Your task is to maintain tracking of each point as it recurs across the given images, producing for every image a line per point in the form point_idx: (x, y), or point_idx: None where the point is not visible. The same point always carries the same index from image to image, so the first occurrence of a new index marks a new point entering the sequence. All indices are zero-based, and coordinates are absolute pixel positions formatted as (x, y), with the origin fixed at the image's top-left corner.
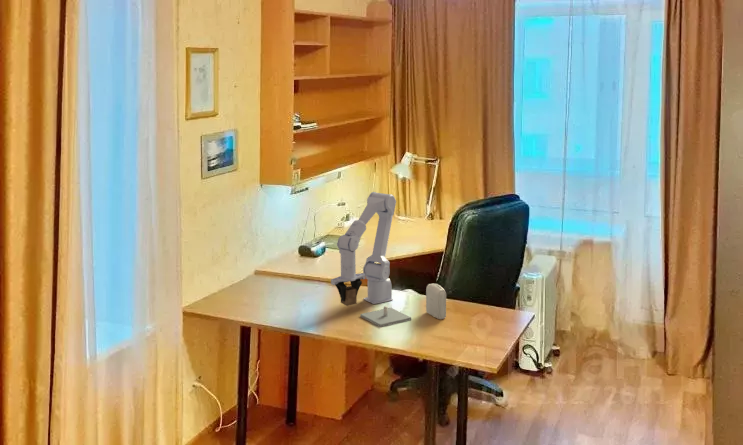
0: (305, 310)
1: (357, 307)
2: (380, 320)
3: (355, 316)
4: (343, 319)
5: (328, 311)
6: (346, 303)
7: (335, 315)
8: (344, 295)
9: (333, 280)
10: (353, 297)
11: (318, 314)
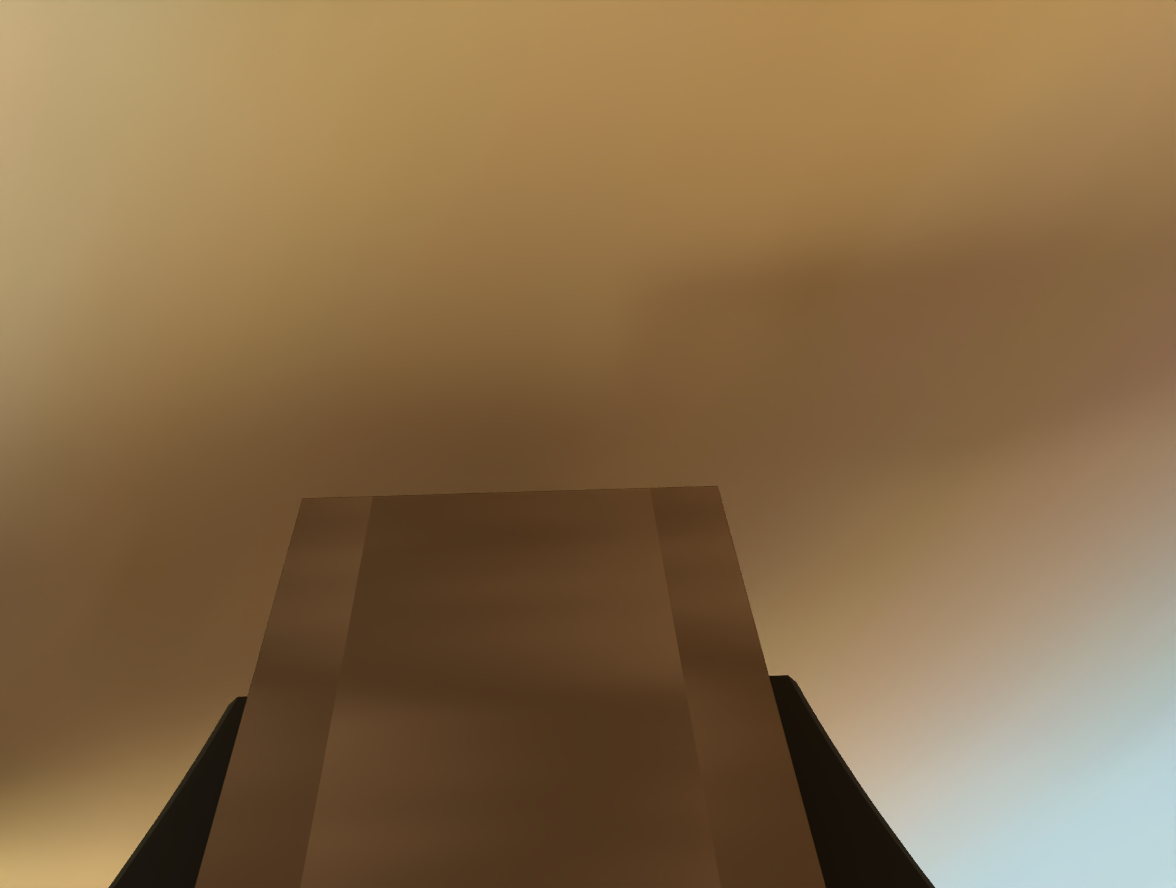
0: (1151, 875)
1: (164, 619)
2: None
3: (548, 66)
4: (1019, 31)
5: (877, 689)
6: (732, 550)
7: (944, 427)
8: (852, 854)
9: None
10: (412, 690)
11: (1166, 642)
